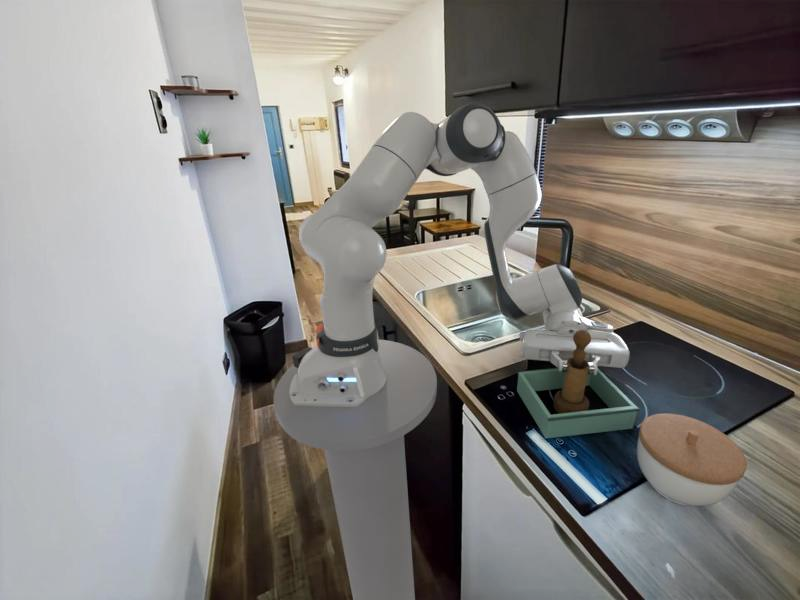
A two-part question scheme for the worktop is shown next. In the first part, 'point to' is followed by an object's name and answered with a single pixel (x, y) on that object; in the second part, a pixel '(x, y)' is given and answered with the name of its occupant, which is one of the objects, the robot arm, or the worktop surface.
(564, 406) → the mortar and pestle
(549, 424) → the green square frame
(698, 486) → the lidded bowl
